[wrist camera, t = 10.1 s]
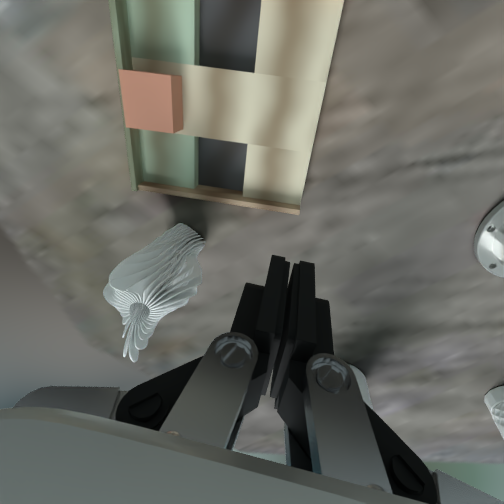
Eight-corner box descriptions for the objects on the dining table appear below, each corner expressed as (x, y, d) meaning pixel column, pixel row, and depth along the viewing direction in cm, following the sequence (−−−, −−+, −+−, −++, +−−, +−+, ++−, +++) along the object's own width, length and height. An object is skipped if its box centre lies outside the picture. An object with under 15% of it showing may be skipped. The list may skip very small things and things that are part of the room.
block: (181, 75, 28) (170, 75, 26) (183, 129, 31) (173, 133, 28) (134, 70, 29) (118, 69, 26) (139, 123, 31) (125, 127, 29)
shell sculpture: (176, 200, 38) (96, 282, 23) (224, 239, 40) (180, 337, 25) (147, 239, 42) (62, 330, 27) (192, 272, 44) (137, 374, 29)
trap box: (343, -5, 25) (350, -18, 22) (298, 203, 36) (299, 216, 32) (127, -30, 26) (102, -46, 23) (146, 180, 37) (131, 190, 34)
